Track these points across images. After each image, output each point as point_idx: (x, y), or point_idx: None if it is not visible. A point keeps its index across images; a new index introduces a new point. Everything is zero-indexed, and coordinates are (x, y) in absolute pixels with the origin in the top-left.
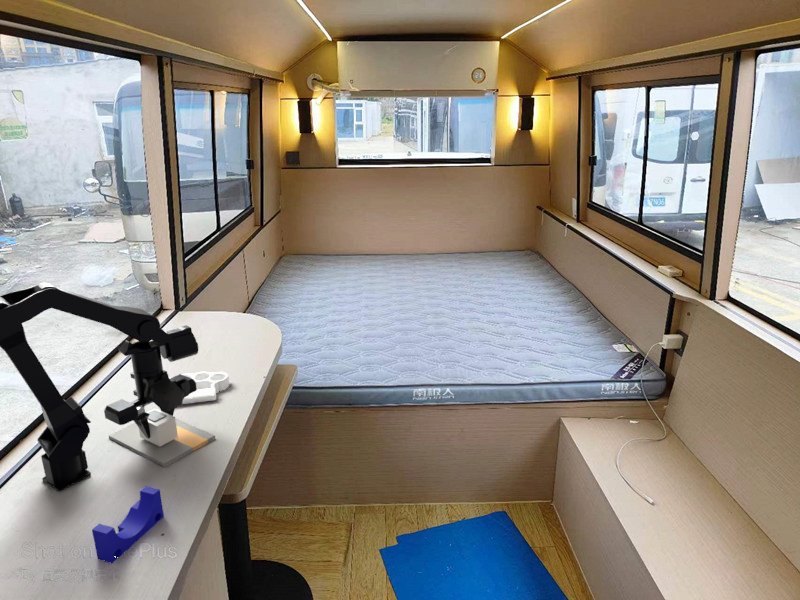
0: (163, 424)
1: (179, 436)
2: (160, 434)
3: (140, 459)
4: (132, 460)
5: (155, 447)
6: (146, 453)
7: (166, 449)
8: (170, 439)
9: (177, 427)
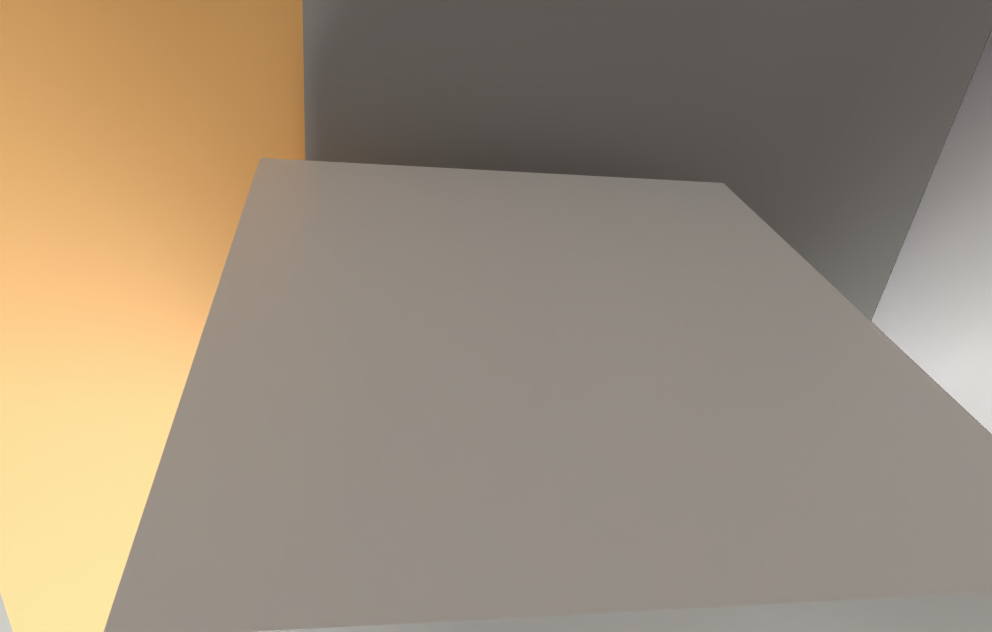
0: (794, 531)
1: (166, 222)
2: (796, 323)
3: (920, 253)
4: (961, 322)
5: None
6: (876, 257)
7: (663, 44)
8: (463, 185)
9: (8, 492)
